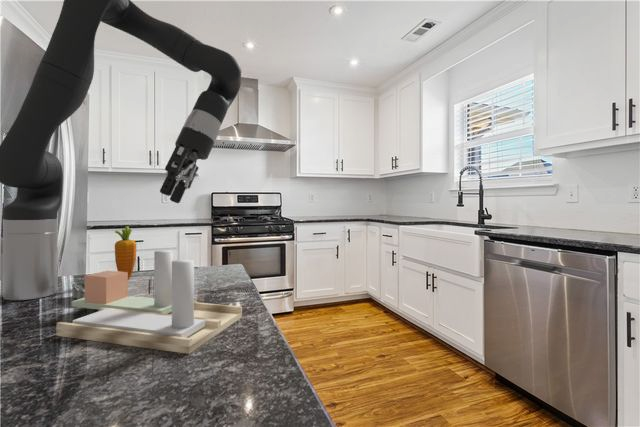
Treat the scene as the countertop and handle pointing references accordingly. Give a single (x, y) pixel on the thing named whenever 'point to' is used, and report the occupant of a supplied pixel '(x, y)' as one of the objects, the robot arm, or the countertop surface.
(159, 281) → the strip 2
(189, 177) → the robot arm
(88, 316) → the strip
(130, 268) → the carrot
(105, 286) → the cube
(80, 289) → the egg carton
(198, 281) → the countertop surface
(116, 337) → the board
